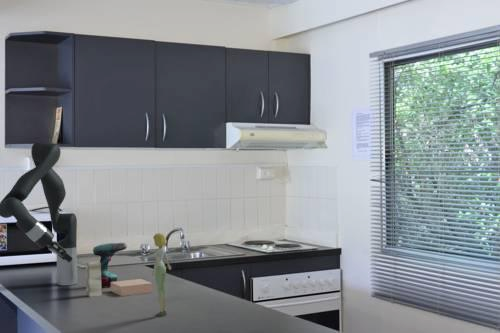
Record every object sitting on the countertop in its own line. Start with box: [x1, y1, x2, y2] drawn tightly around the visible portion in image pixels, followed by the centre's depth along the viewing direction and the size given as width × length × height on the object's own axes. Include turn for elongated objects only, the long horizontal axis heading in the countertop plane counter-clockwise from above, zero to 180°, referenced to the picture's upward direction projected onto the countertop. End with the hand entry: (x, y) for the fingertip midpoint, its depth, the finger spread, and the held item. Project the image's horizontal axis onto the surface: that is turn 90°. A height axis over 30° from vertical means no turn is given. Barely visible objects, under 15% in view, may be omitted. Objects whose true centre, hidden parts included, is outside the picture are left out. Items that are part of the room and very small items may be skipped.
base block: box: [110, 278, 153, 297], centre depth 304 cm, size 14×14×4 cm
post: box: [85, 261, 103, 298], centre depth 298 cm, size 5×5×14 cm
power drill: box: [92, 242, 128, 288], centre depth 319 cm, size 7×16×20 cm, turn 78°
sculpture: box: [150, 232, 172, 317], centre depth 256 cm, size 13×5×30 cm, turn 157°
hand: (68, 259), depth 293 cm, fingers open, 8 cm apart
